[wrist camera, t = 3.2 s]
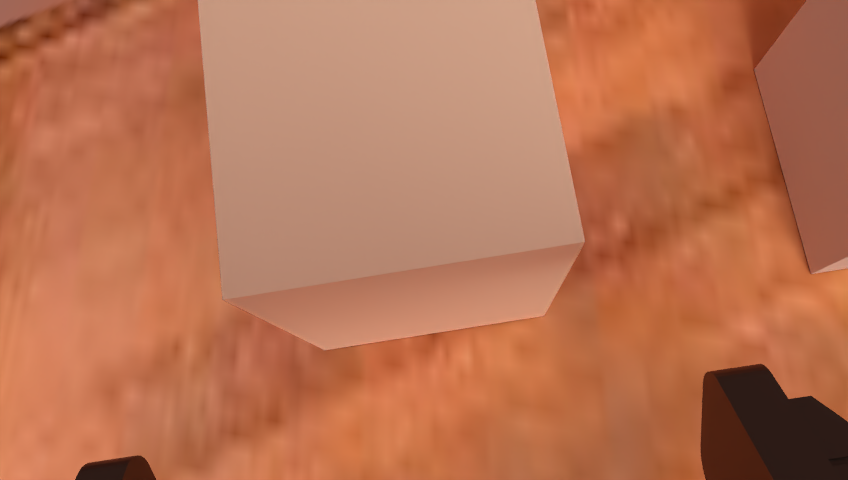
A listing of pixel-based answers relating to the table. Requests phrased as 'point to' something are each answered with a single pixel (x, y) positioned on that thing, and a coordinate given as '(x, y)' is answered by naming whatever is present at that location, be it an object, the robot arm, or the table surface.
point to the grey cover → (812, 125)
